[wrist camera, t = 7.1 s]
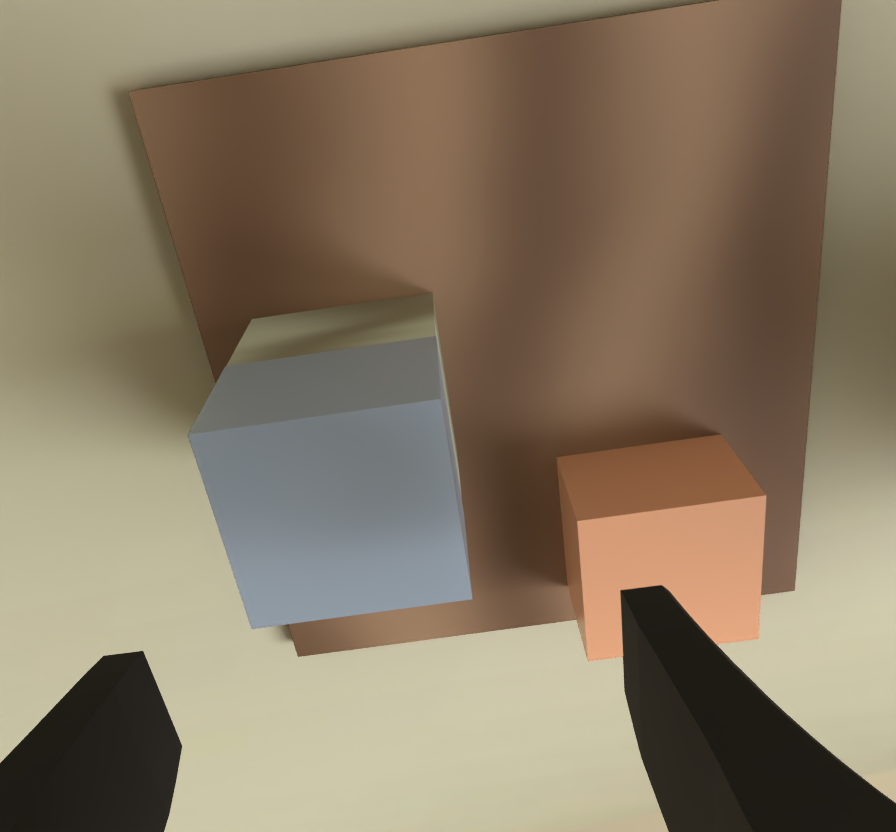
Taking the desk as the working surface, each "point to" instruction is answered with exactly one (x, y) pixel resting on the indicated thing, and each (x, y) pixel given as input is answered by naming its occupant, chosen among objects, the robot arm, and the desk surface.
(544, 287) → the build board
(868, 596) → the desk surface
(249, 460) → the brick slate
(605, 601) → the brick terracotta
